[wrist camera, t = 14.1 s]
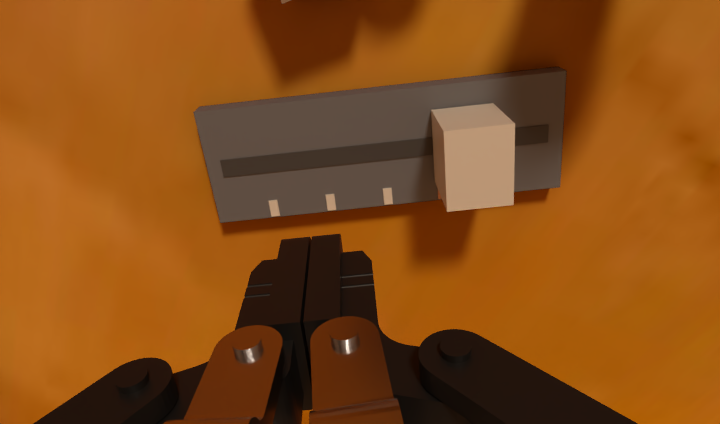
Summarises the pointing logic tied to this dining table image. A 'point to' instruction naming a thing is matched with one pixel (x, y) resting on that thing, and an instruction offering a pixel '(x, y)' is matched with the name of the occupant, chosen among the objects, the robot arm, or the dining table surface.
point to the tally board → (367, 143)
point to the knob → (473, 156)
